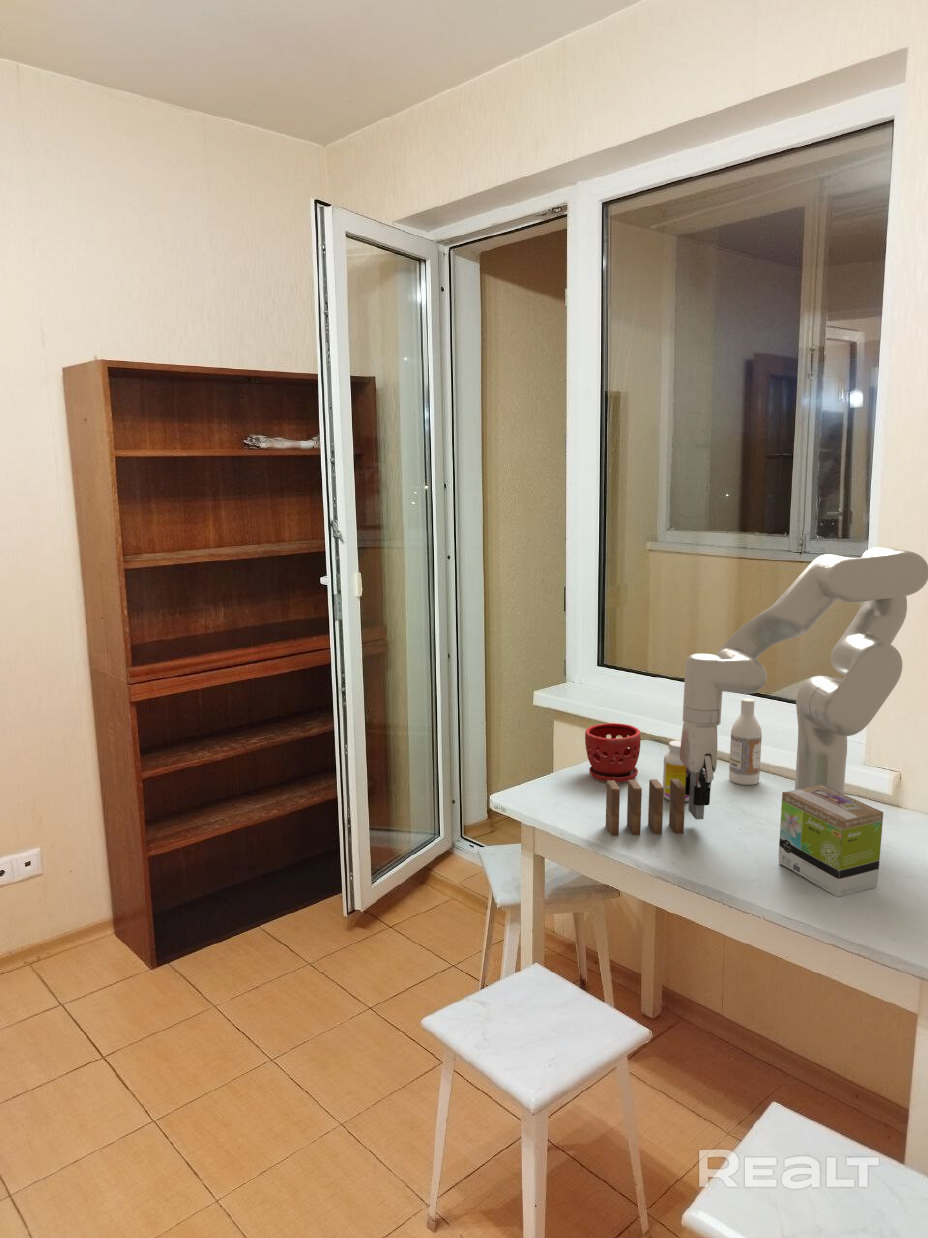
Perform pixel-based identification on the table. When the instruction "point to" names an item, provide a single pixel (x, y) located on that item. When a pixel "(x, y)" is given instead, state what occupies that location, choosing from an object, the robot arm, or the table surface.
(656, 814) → the domino
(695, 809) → the head domino
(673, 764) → the supplement bottle
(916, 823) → the table surface
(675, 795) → the domino
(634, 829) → the domino
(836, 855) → the tea box
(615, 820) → the domino
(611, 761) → the plant pot
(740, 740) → the bath foam
